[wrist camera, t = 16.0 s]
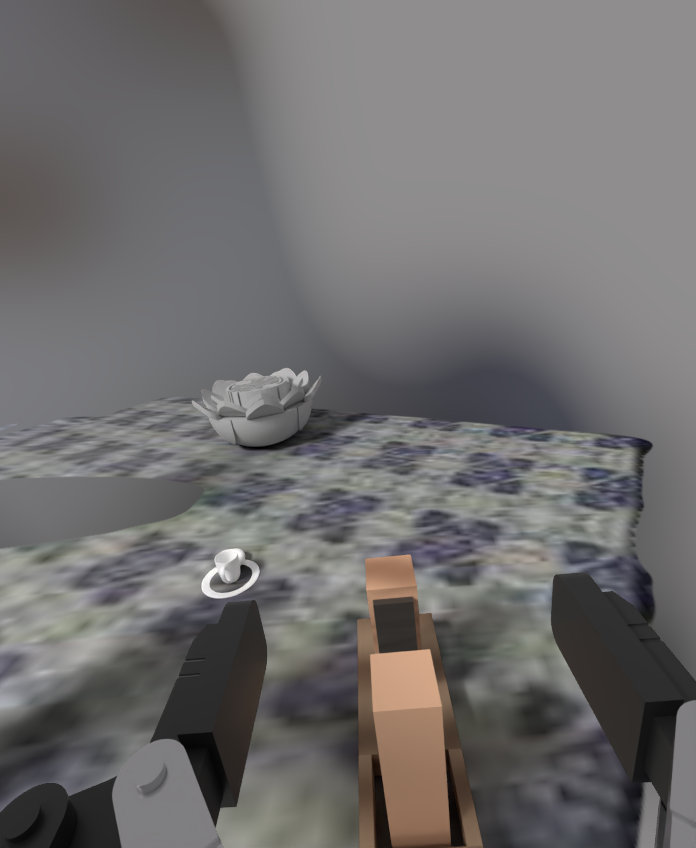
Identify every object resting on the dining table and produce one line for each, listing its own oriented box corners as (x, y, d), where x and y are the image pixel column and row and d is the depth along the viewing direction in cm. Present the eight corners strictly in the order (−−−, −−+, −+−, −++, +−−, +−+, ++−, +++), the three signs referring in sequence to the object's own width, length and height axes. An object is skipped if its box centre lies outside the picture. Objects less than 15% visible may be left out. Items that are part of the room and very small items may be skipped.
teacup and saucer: (227, 556, 66) (221, 533, 65) (273, 562, 63) (268, 538, 62) (190, 596, 59) (182, 571, 57) (240, 605, 56) (233, 579, 54)
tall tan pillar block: (451, 853, 30) (441, 706, 25) (393, 856, 30) (372, 711, 25) (438, 778, 34) (428, 641, 29) (388, 782, 34) (369, 647, 30)
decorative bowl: (269, 414, 132) (260, 365, 126) (346, 425, 113) (339, 369, 108) (181, 452, 110) (165, 395, 105) (259, 474, 92) (244, 407, 87)
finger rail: (502, 958, 25) (502, 802, 20) (364, 964, 25) (333, 812, 21) (432, 631, 48) (424, 521, 43) (360, 637, 48) (344, 529, 43)
